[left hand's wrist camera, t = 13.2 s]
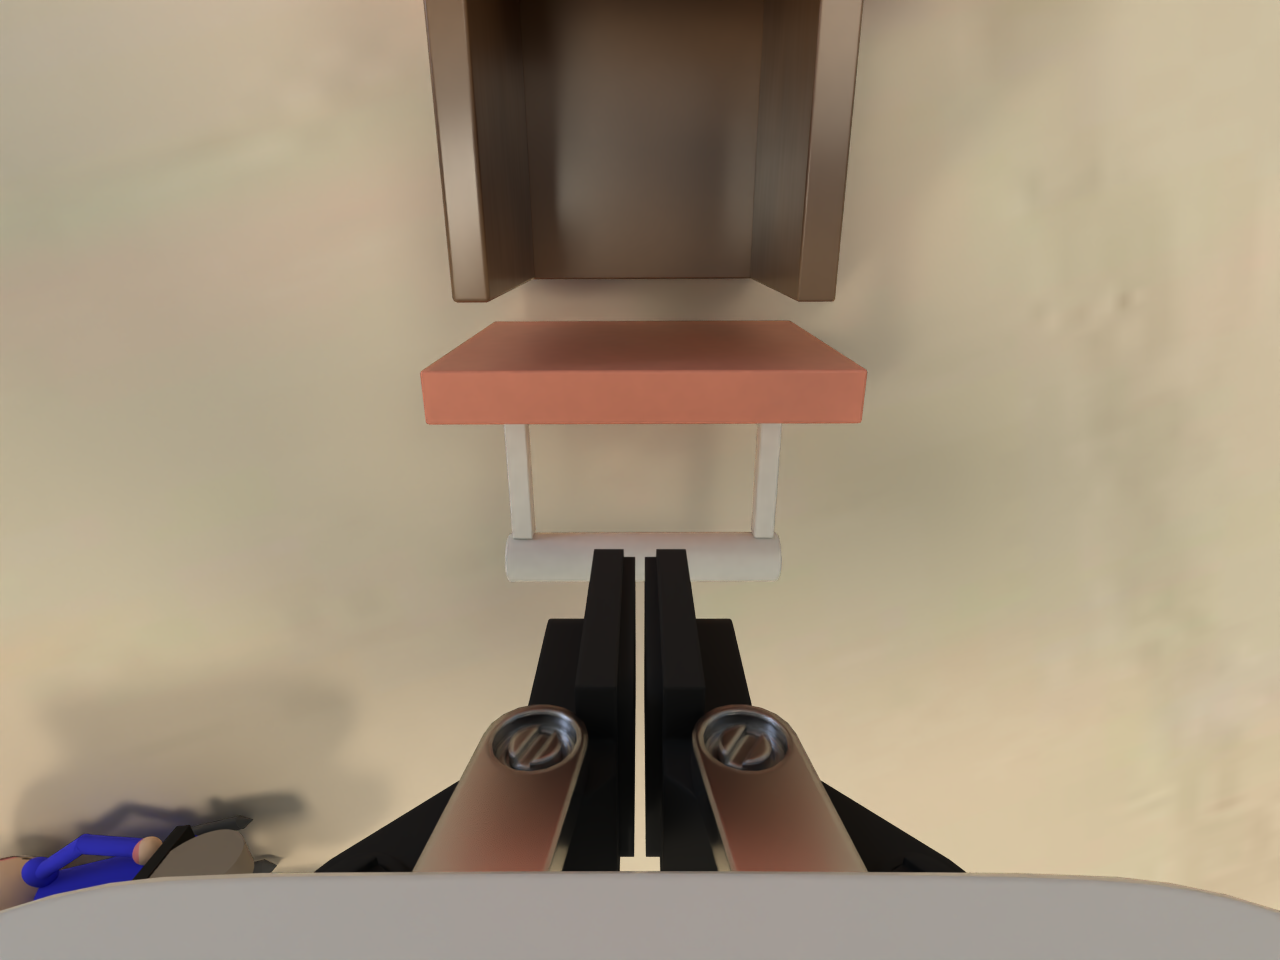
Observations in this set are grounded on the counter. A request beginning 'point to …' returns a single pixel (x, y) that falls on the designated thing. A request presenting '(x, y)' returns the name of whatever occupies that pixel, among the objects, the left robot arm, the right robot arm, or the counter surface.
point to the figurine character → (131, 861)
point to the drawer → (643, 231)
